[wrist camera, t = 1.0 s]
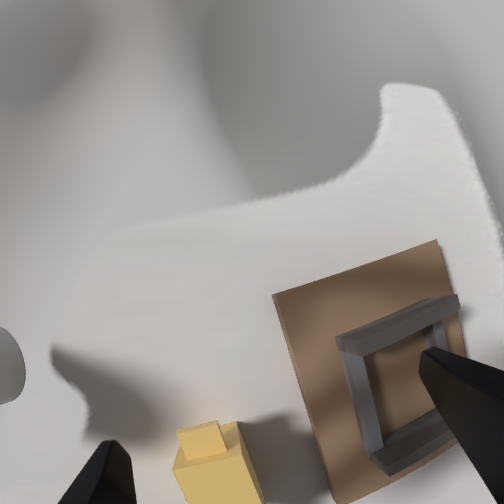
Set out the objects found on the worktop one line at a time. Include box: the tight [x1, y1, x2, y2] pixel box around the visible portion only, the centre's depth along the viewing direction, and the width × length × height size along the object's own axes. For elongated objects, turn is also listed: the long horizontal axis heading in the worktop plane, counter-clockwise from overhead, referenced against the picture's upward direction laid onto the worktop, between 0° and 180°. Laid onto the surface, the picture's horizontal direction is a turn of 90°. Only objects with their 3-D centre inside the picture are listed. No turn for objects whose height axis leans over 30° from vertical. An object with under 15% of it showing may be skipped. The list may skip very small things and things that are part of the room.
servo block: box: [172, 420, 265, 504], centre depth 17 cm, size 10×4×6 cm, turn 17°
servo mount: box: [272, 239, 467, 504], centre depth 19 cm, size 18×14×6 cm
